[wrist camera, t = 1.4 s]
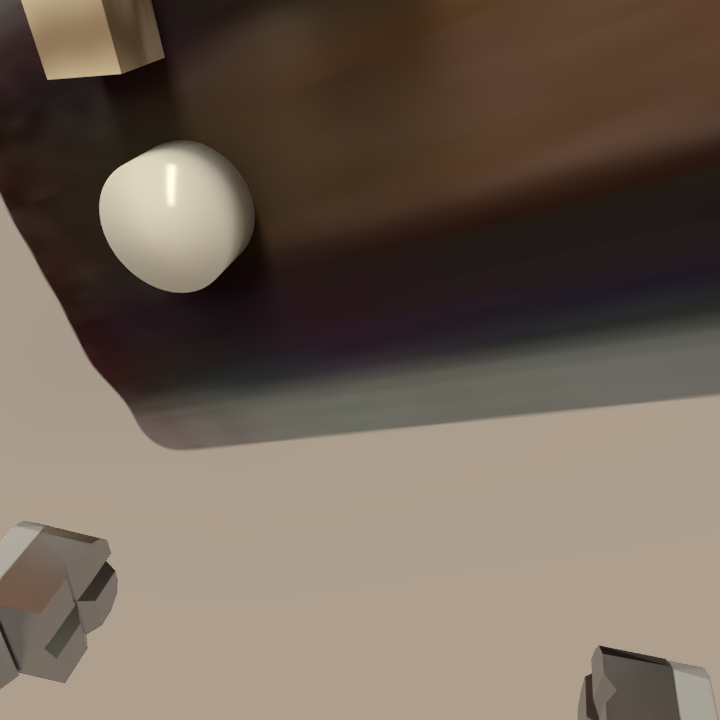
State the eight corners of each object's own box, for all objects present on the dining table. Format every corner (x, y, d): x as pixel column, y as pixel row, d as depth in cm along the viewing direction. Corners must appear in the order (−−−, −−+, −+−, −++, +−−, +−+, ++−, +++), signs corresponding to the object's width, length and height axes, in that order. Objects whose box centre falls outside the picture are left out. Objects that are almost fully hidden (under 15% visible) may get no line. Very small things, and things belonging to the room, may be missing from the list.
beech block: (70, -26, 41) (15, -18, 37) (143, -36, 40) (93, -28, 36) (96, 63, 44) (47, 79, 40) (165, 57, 43) (121, 74, 39)
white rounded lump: (120, 141, 47) (81, 162, 43) (241, 136, 44) (210, 157, 41) (155, 263, 52) (122, 291, 48) (266, 265, 49) (240, 294, 45)
